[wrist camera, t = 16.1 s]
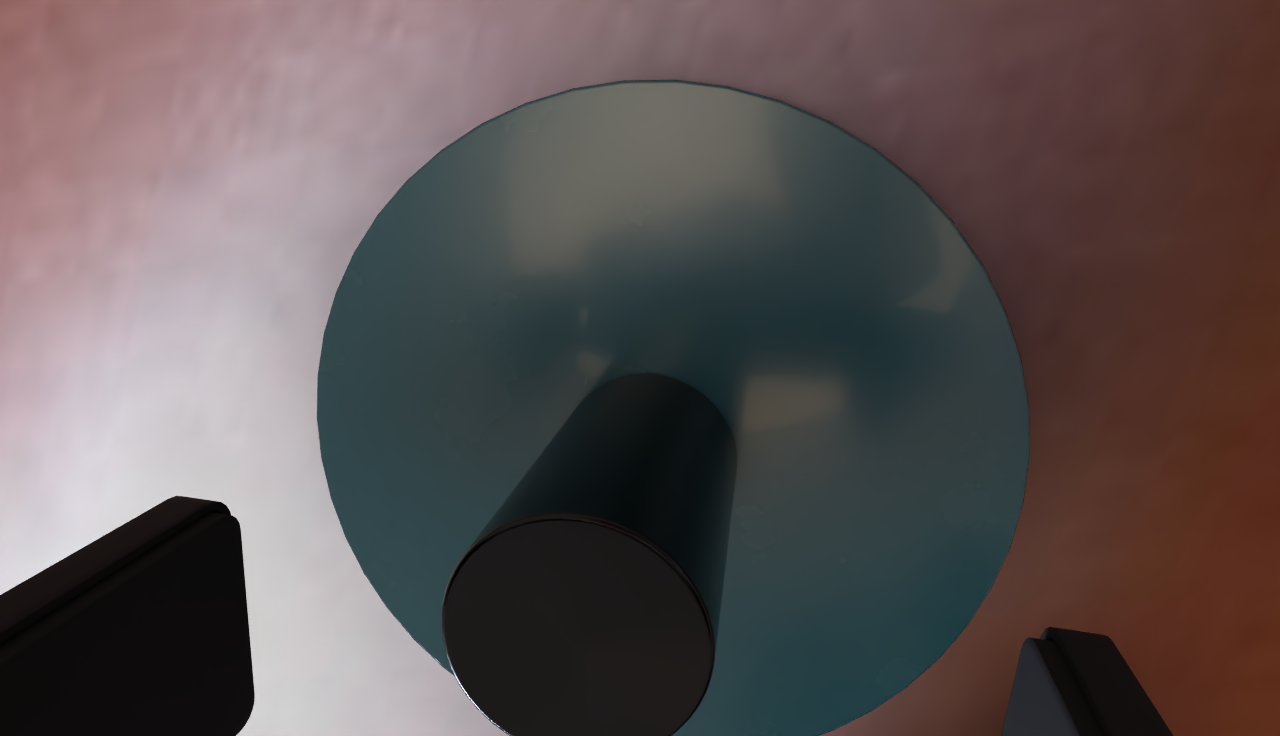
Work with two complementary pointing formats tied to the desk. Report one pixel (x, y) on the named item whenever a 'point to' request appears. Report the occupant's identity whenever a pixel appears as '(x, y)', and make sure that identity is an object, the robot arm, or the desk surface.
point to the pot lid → (672, 417)
